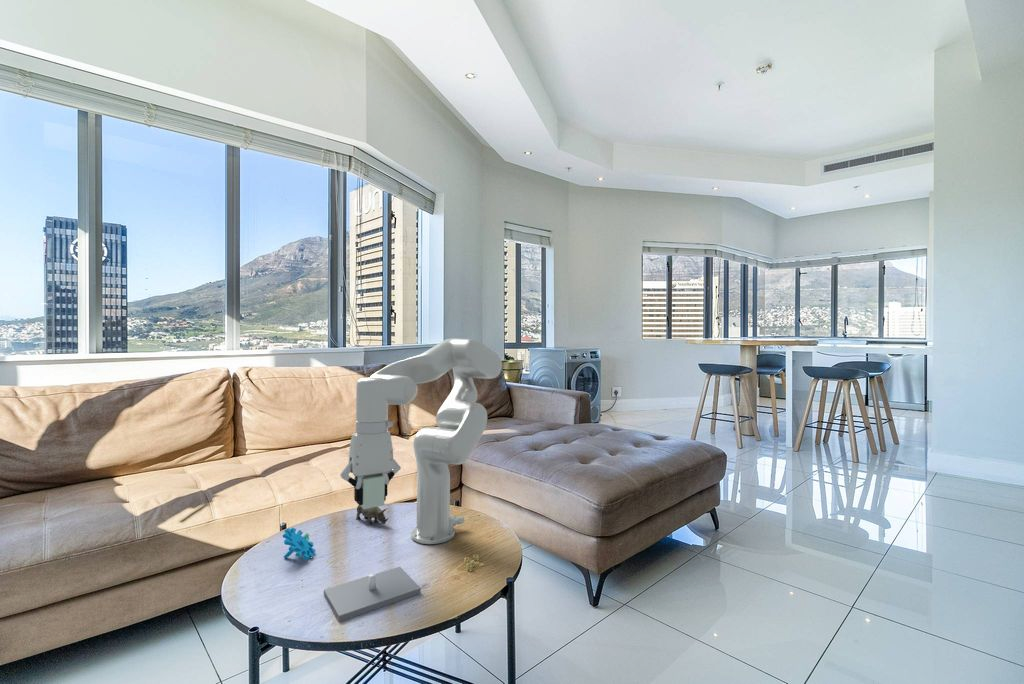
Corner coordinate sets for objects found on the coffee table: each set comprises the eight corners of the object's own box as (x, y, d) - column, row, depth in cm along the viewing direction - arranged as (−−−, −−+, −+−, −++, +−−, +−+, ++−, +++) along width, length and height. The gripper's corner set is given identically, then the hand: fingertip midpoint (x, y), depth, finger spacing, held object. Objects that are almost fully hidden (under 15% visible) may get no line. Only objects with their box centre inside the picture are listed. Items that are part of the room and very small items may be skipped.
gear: (307, 561, 116) (280, 531, 117) (289, 578, 115) (262, 549, 116) (323, 547, 127) (299, 520, 128) (307, 563, 126) (283, 536, 127)
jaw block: (377, 499, 118) (377, 471, 118) (384, 505, 113) (384, 476, 113) (357, 502, 115) (358, 474, 115) (363, 509, 111) (364, 479, 111)
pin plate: (399, 571, 114) (400, 554, 114) (420, 593, 105) (420, 574, 105) (323, 594, 104) (323, 576, 104) (338, 621, 94) (338, 601, 94)
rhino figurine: (382, 530, 138) (382, 510, 138) (353, 520, 146) (353, 501, 146) (392, 526, 142) (392, 506, 142) (363, 516, 150) (363, 497, 149)
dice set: (467, 574, 115) (467, 566, 114) (459, 565, 119) (459, 557, 119) (485, 569, 117) (486, 562, 117) (477, 560, 121) (477, 553, 121)
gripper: (399, 422, 122) (398, 491, 122) (332, 428, 112) (331, 503, 112) (410, 426, 116) (409, 499, 116) (340, 433, 106) (339, 513, 106)
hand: (370, 500), depth 114 cm, fingers closed on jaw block, 5 cm apart
